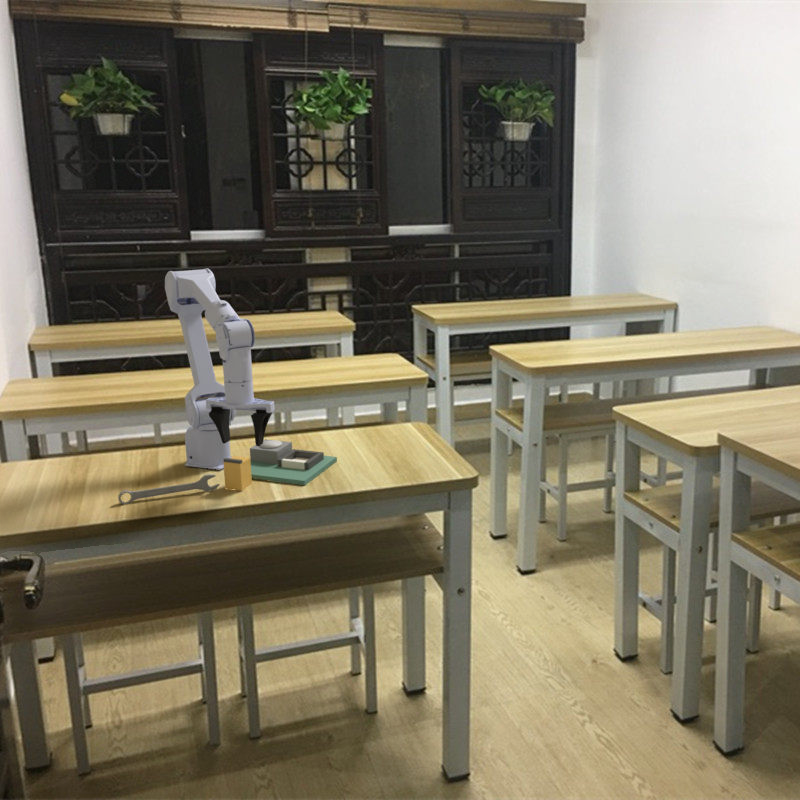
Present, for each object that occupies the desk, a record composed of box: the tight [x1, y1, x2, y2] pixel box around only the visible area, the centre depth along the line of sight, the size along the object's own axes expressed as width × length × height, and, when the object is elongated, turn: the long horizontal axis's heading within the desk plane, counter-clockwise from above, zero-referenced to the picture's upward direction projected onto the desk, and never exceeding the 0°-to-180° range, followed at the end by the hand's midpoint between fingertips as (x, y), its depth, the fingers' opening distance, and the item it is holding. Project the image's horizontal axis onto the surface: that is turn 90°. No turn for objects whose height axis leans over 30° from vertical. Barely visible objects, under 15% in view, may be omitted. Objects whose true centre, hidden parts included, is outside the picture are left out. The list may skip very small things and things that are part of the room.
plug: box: [223, 455, 253, 492], centre depth 166 cm, size 4×4×7 cm
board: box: [249, 438, 338, 486], centre depth 177 cm, size 18×16×4 cm
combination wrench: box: [117, 474, 220, 505], centre depth 162 cm, size 4×1×20 cm
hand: (242, 443), depth 165 cm, fingers open, 7 cm apart
